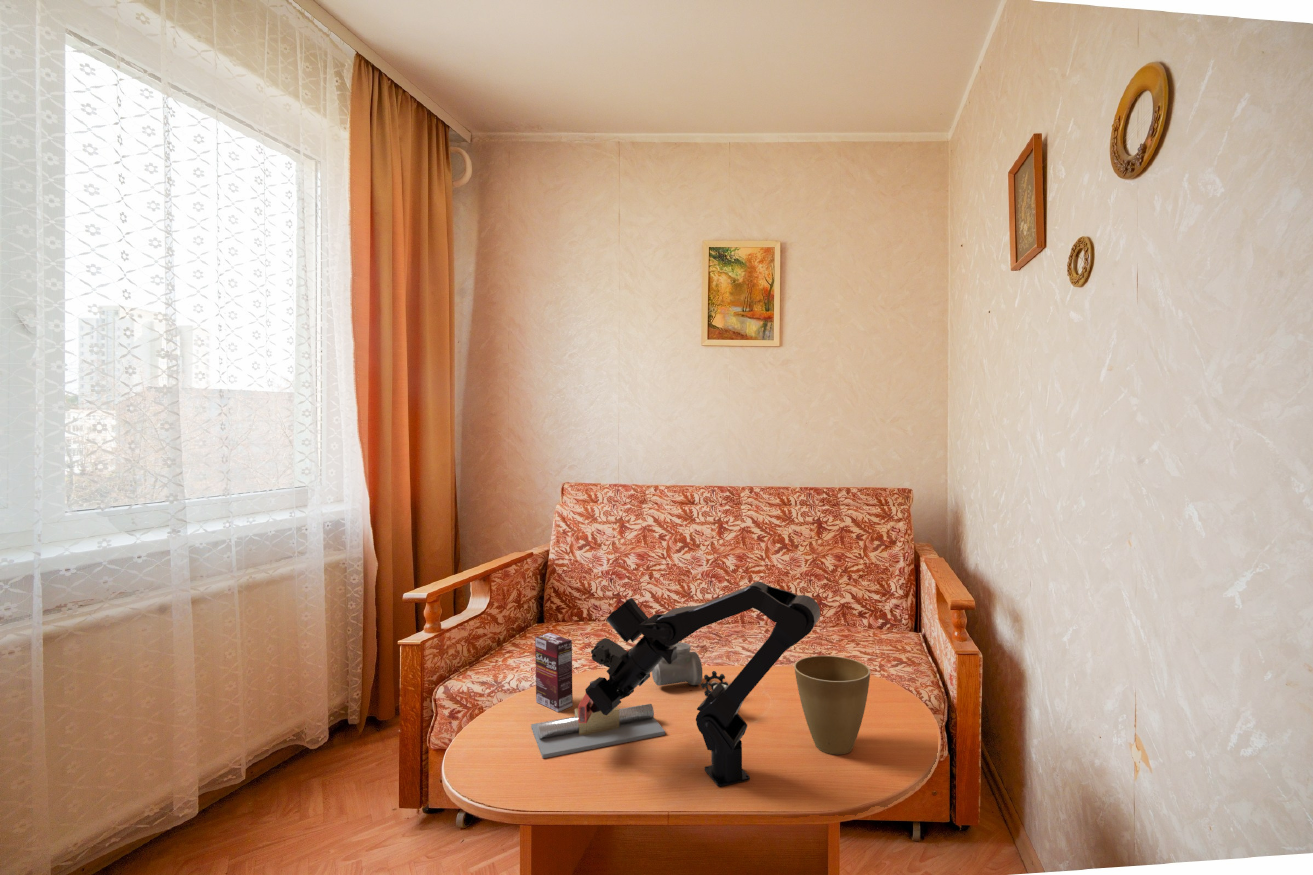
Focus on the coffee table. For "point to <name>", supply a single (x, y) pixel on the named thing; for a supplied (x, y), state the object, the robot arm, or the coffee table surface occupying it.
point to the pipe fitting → (679, 668)
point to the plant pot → (833, 699)
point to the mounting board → (596, 737)
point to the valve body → (595, 721)
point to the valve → (713, 684)
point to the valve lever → (584, 709)
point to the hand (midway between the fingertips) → (594, 708)
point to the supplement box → (553, 671)
